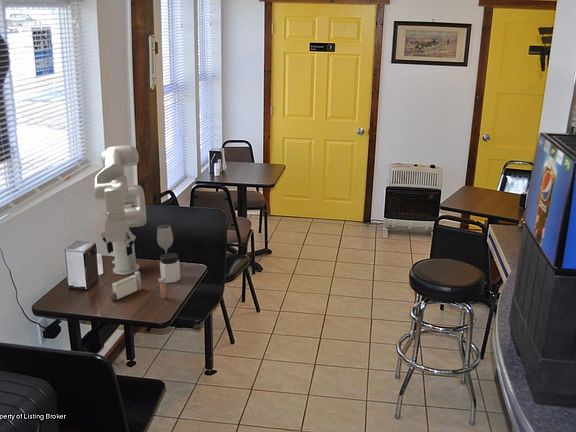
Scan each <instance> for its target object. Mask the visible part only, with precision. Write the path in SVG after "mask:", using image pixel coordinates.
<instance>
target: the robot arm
mask: <svg viewBox="0 0 576 432" xmlns="http://www.w3.org/2000/svg"><path fill="white" fill-rule="evenodd" d="M139 158H140V155H139V152H138V150H137V148H136V147H135V146H134V145H132V144H130V145H129V144H128V145H127V144H126V145H116V146H115V145H114V146H113V145H112V146H109V147H107V148H106V149H105V150H104V151H102V152H101V153H100V160H101V164H102V167H103V168H102V169H101V170H100V171H99V172H98V173H97V174H96V175H95V178H94V180H93V195H94V199H96V201H99V202H104V203H105V212H104V215H105V216H106V218H105V221H104V232H102V233H100V237H101V238H102V241H103V242H104V244H105V245H106V249H107V253H108V254H111V253H113V255H114V260H112V261H111V263H112V264H114V267H113V268H112V272H113V273H114V274H115V275H121V276H125V275H131V274H132V275H133V274H135V272H137V271H138V272H139V271H140V265H139V264H137V263H136V262H137V261H136V252H135V242H136V239H137V236H136V235H134V234H133V233H132V232H131V230H130V228H135V227H136V228H137V227H143V226H145V225H146V223H147V210H146V209H147V206H146V199H145V198H146V197H145V192H144V189H143V187H142V186H141V185H138V184H133V185H131V184H130V185H128V176H127V175H126V173H125V167H133V166H137V165H138V163H139V161H140V159H139ZM125 206H126V207H125Z"/></svg>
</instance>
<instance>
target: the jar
mask: <svg viewBox="0 0 576 432" xmlns="http://www.w3.org/2000/svg"><path fill="white" fill-rule="evenodd" d="M159 259H160V261H159V271H160V278H165V279H166V282H165V284H171V283H173V282H174V283H177V282H178V281H179V280H181V266H180V260H179V255H178V254H177V253H176V252H167V253H166V252H165V253H163V254H161V255H160V256H159Z"/></svg>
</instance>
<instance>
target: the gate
mask: <svg viewBox="0 0 576 432" xmlns="http://www.w3.org/2000/svg"><path fill="white" fill-rule="evenodd" d="M141 279H142V278H141V272H140V271H139V270H138V271H137V272H135V273H134V274H132V275H130V276H127V277H125V278H122V279H120V280H118V281H116V282H113V283H112V284H111V285H112V293H110V294H109V297H110V299H111V300H112V301H116V300H117V301H118V300H119V299H121V298H123V297H126V296H128V295H130V294H133V293H135V292H137V291H140V290H142V280H141Z"/></svg>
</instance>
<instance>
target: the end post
mask: <svg viewBox="0 0 576 432" xmlns="http://www.w3.org/2000/svg"><path fill="white" fill-rule="evenodd" d="M157 280H158V281H157V282H158V283H159V290H160V300H166V299H167V298H168V297H167V289H166V288H167V287H166V283H165V282H166V279H165V278H161V277H159V278H158V279H157ZM165 298H166V299H165Z"/></svg>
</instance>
